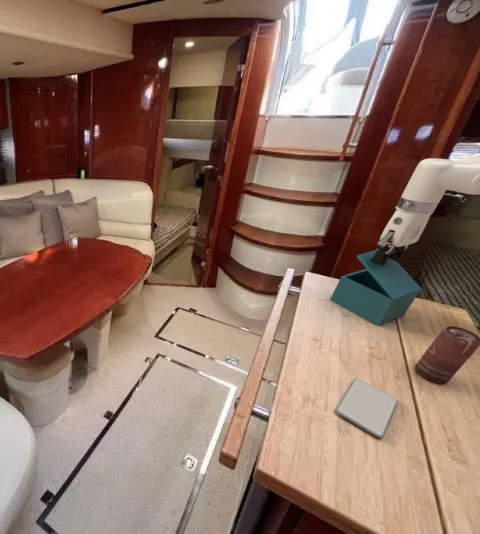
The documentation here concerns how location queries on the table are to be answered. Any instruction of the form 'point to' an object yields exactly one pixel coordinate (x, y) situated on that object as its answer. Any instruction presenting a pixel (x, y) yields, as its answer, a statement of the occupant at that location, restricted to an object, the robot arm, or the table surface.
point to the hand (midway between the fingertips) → (385, 261)
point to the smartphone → (367, 407)
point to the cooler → (369, 298)
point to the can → (447, 354)
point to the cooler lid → (390, 275)
